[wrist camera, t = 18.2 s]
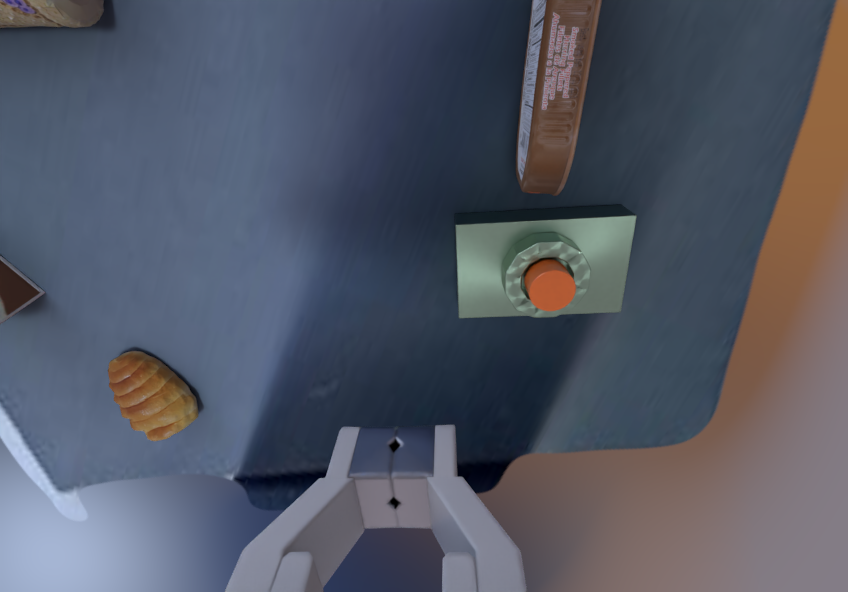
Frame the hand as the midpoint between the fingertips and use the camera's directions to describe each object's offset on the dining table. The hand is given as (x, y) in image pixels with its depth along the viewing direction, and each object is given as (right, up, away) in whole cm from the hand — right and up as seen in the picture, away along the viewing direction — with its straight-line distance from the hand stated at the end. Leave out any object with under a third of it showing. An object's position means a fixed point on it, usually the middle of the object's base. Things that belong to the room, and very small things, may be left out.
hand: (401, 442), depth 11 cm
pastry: (-27, -6, +33) cm, 42 cm away
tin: (+8, +20, +18) cm, 28 cm away
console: (+10, +7, +24) cm, 27 cm away
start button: (+10, +5, +20) cm, 23 cm away
